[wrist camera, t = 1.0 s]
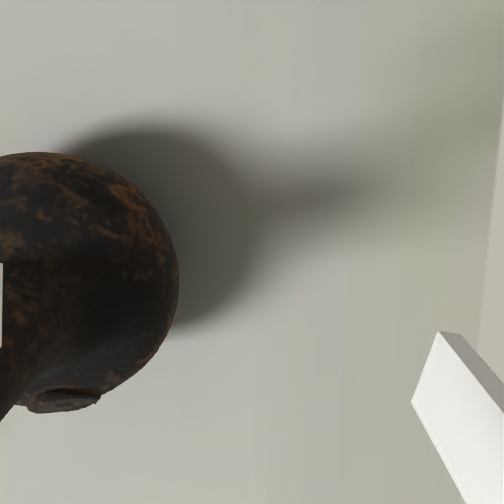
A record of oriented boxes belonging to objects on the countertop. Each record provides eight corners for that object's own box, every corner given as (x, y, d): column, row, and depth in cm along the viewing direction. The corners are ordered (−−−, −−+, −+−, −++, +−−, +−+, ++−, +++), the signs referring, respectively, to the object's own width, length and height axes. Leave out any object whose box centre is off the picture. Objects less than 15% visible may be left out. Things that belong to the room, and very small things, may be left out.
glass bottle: (3, 359, 43) (-348, 811, 16) (-71, 159, 37) (-823, 367, 10) (202, 329, 43) (170, 730, 16) (161, 124, 37) (6, 242, 10)
